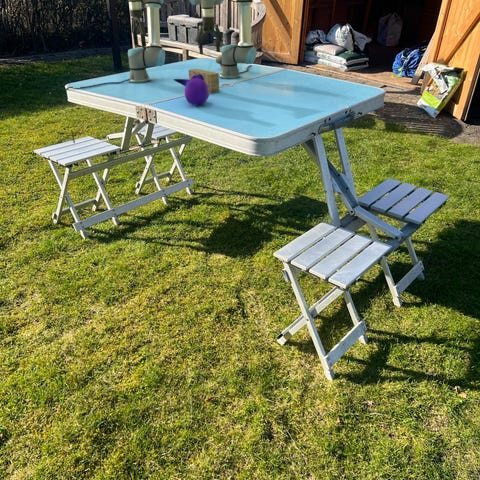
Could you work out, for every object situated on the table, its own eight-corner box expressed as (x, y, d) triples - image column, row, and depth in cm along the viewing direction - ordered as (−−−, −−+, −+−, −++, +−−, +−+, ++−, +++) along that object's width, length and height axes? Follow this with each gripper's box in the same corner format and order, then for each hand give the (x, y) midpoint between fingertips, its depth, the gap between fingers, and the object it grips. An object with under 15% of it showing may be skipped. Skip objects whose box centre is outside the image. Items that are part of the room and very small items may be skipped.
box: (189, 87, 315) (188, 69, 309) (197, 86, 319) (196, 68, 313) (211, 93, 299) (210, 74, 293) (219, 91, 302) (218, 73, 296)
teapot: (219, 71, 369) (218, 51, 361) (212, 69, 377) (212, 49, 370) (241, 68, 378) (241, 49, 370) (234, 66, 386) (234, 47, 379)
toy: (197, 96, 290) (209, 111, 269) (171, 92, 283) (181, 106, 262) (203, 71, 282) (215, 85, 261) (175, 66, 275) (186, 79, 254)
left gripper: (148, 9, 275) (153, 47, 286) (134, 8, 293) (138, 43, 304) (137, 10, 272) (141, 48, 282) (123, 8, 290) (128, 44, 301)
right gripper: (195, 18, 271) (197, 55, 281) (227, 15, 284) (228, 51, 295) (188, 17, 276) (190, 54, 286) (220, 15, 289) (221, 50, 300)
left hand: (140, 45), depth 293 cm, fingers open, 13 cm apart
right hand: (209, 53), depth 291 cm, fingers open, 13 cm apart
